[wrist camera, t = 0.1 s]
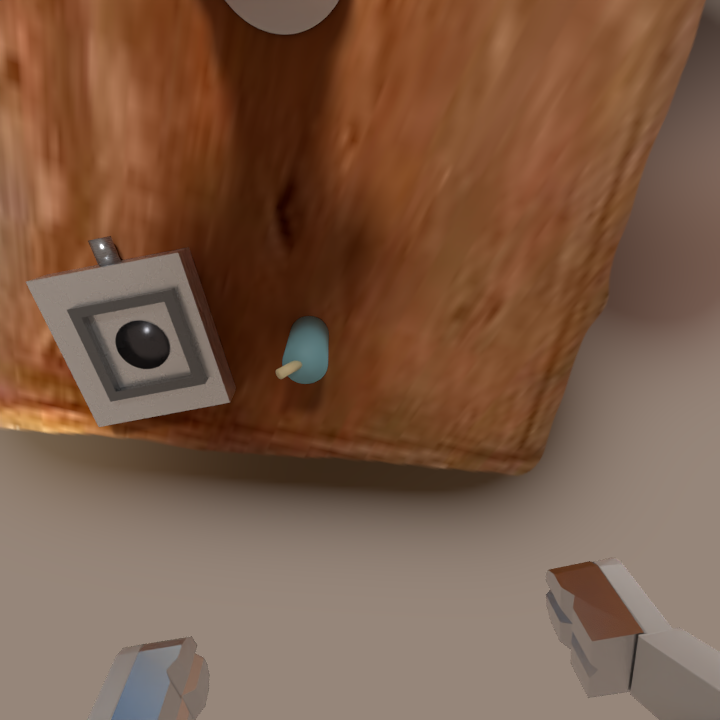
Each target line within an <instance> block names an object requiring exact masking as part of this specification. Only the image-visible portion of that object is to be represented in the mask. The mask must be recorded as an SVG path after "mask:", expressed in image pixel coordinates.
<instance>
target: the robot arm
mask: <svg viewBox="0 0 720 720" xmlns="http://www.w3.org/2000/svg"><path fill="white" fill-rule="evenodd" d="M225 1H226V2H227V3H228V5H229V6H230V7H231V8H232V9H233V10H234V11H235V12H236V13H237V14H238V15H239V16H240V17H241V18H243V19H244V20H245V21H246V22H248V23H249V24H251V25H253V26H254V27H256V28H258V29H261V30H263V31H266V32H269V33H274V34H285V35H286V34H295V33H300V32H303V31H306V30H308V29H310V28H312V27H314V26H315V25H317V24H318V23H320V22H321V21H322V20H323V19H325V18H326V17H327V16H328V15H329V13H330V12H331V11H332V10H333V9H334V7H335V6H336V4H337V3H338V1H339V0H225ZM546 582H547V584H548V586H549V588H550V591H549V592H548V593H547V594H546V604H547V609H548V613H549V617H550V620H551V623H552V625H553V628H554V630H555V632H556V634H557V636H558V638H559V640H560V642H562V643H563V644H564V645H566V646H567V647H568V648H569V649H571V665H572V667H573V669H574V671H575V673H576V675H577V677H578V679H579V681H580V682H581V684H582V687H583V689H584V690H585V692H586V694H587V696H588V698H590V697H597V696H604V695H611V694H617V693H624V692H630V694H631V695H632V696H633V697H634V698H635V699H636V700H637V701H638V702H640V703H641V704H642V705H643V706H644V707H645V708H647V709H648V710H649V711H650V712H651V713H652V714H653V715H654V716H656V717H657V718H658V719H659V720H720V652H719V651H718V650H716V649H714V648H712V647H711V646H709V645H708V644H706V643H704V642H703V641H701V640H699V639H698V638H696V637H695V636H692V635H691V634H690V633H688V632H686V631H685V630H683V629H681V628H673V629H672V627H671V626H670V625H669V623H668V622H667V621H666V619H665V618H664V617H663V616H662V614H661V613H660V612H659V610H658V609H657V608H656V606H654V604H653V603H652V601H651V600H650V599H649V597H648V596H647V595H646V593H645V592H644V591H643V590H642V588H641V587H640V586H639V584H638V583H637V582H636V581H635V579H634V578H633V577H632V575H631V574H630V573H629V571H628V570H627V569H626V568H625V566H624V565H623V564H622V562H621V561H619V560H618V559H616V558H608V559H604V560H599V561H594V562H590V561H589V562H584V563H579V564H575V565H570V566H565V567H560V568H555V569H550V570H548V571H547V573H546ZM196 648H197V644H196V642H195V641H194V639H193V637H192V636H191V637H185V638H179V639H173V640H167V641H161V642H155V643H149V644H142V645H137V646H131V647H125V648H123V649H122V650H121V651H120V652H119V653H118V655H117V656H116V657H115V659H114V662H113V664H112V666H111V668H110V671H109V673H108V675H107V677H106V679H105V681H104V684H103V686H102V688H101V691H100V693H99V695H98V697H97V699H96V701H95V703H94V706H93V708H92V710H91V712H90V715H89V717H88V719H87V720H195V719H196V718H197V716H198V715H199V714H200V712H201V711H202V710H203V708H204V707H205V705H206V700H207V695H208V691H209V670H208V666H207V663H206V661H205V659H204V658H203V657H202V656H199V655H197V654H196V653H195V652H196Z"/></svg>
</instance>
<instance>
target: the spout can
mask: <svg viewBox="0 0 720 720" xmlns="http://www.w3.org/2000/svg"><path fill="white" fill-rule="evenodd" d="M328 342H329V332H328V328H327V326H326V324H325V323H324V322H323V321H322V320H321V319H319V318H317V317H314V316H304V317H301V318H299V319H298V320H296V321H295V322H294V324H293V325H292V327H291V330H290V334H289V338H288V341H287V345H286V349H285V352H284V356H283V360H282V365H283V366H282V367H280V368H279V369H277V370H276V375H277V377H278V378H279V379H283V378H284V377H286V376H288V377H289V378H290V379H291V380H293V381H295V382H297V383H301V384H310V383H314V382H316V381H318V380H320V379H321V378H322V377H323V376H324V375H325V373H326V371H327V368H328Z"/></svg>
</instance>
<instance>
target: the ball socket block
mask: <svg viewBox="0 0 720 720" xmlns="http://www.w3.org/2000/svg"><path fill="white" fill-rule="evenodd" d="M88 242H89V244H90V246H91V249H92V251H93V253H94V256H95V258H96V261H97V263H98V265H95V266H90V267H84V268H79V269H74V270H69V271H64V272H59V273H53V274H48V275H45V276H42V277H39V278H36V279H33V280H30V281H27V282H26V283H27V285H28V287H29V289H30V291H31V293H32V295H33V297H34V299H35V301H36V303H37V305H38V307H39V309H40V311H41V313H42V315H43V317H44V319H45V321H46V323H47V325H48V327H49V329H50V331H51V333H52V335H53V337H54V339H55V341H56V343H57V345H58V347H59V349H60V351H61V353H62V355H63V357H64V359H65V361H66V363H67V365H68V367H69V369H70V371H71V373H72V375H73V377H74V379H75V381H76V383H77V385H78V387H79V389H80V391H81V393H82V395H83V397H84V399H85V401H86V403H87V405H88V406H89V408H90V410H91V412H92V414H93V416H94V418H95V420H96V422H97V424H98V426H99V427H102V426H107V425H112V424H118V423H123V422H128V421H134V420H139V419H144V418H150V417H155V416H160V415H166V414H171V413H176V412H182V411H187V410H193V409H198V408H203V407H209V406H214V405H219V404H225V403H230V401H231V399H232V397H233V395H234V393H235V390H236V387H235V384H234V381H233V378H232V375H231V372H230V369H229V366H228V363H227V360H226V357H225V354H224V351H223V348H222V345H221V342H220V339H219V336H218V333H217V330H216V327H215V324H214V321H213V318H212V315H211V312H210V309H209V306H208V303H207V300H206V297H205V294H204V291H203V288H202V285H201V282H200V279H199V276H198V273H197V270H196V267H195V264H194V261H193V258H192V255H191V252H190V249H189V247H188V248H183V249H178V250H173V251H168V252H162V253H157V254H152V255H147V256H142V257H136V258H131V259H126V260H120V258H119V255H118V253H117V251H116V248H115V246H114V243H113V241H112V238H111V236H109V237H103V238H98V239H94V240H89V241H88Z"/></svg>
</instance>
